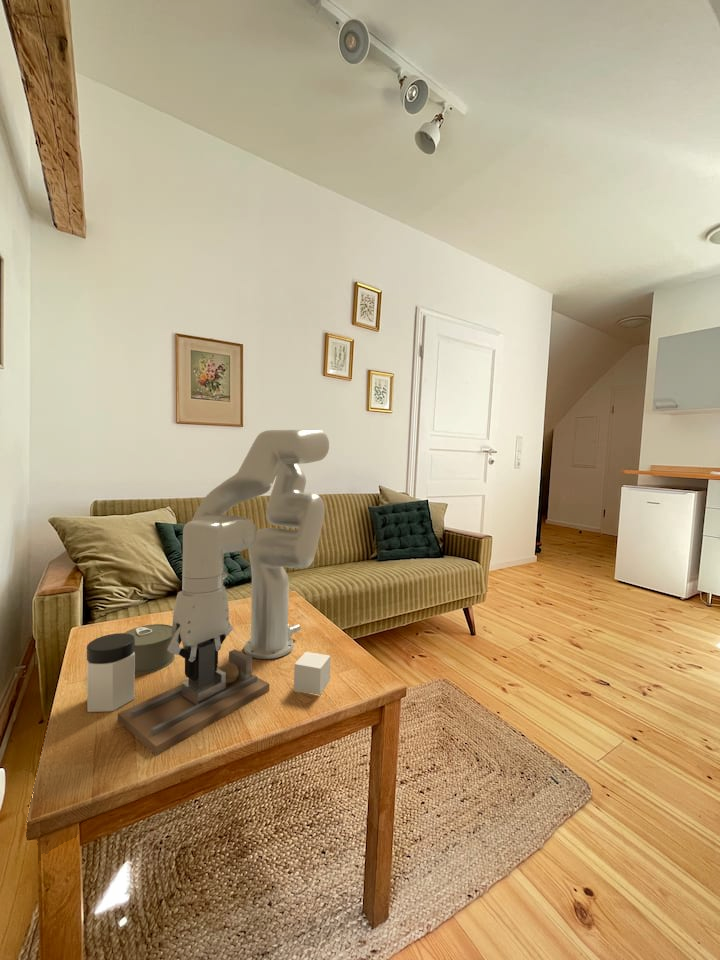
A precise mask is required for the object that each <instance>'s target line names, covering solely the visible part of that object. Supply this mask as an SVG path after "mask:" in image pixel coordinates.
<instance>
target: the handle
mask: <svg viewBox="0 0 720 960" xmlns="http://www.w3.org/2000/svg"><path fill="white" fill-rule="evenodd" d="M195 659H196V660H198V679H197V680H196V681H193V680H191V679H190V678H188V679H187V680H184V681H182V682H181V684H180V685H181V695H182V696H184V697H185V698H187V699H188V700H190V701H191V702H193V703H194V704H195V705H198V704H200V703H202V702H204V701H206V700H207V699H209V698H211V697H213V696H215V695H217V694H219V693H221V692H223V691H225V690H226V673H225V672H223V671H221V670H220V669H218V668H219V667H217V671H215V642H213V641H211V640H207V641H205V642H202V643H199V644H197V651H196V657H195Z"/></svg>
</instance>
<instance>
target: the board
mask: <svg viewBox="0 0 720 960" xmlns="http://www.w3.org/2000/svg"><path fill="white" fill-rule="evenodd" d="M217 668H218V669H220V670H221V671H223V672H225V673H226V690H225V691H223V692H221V693H219V694H217V695H215V696H213V697H211V698H209V699H207V700H206V701H204V702H202V703H200V704H198V705H195V704H194V703H193V702H191V701H190V700H188V699H187V698H185V697H184V696H182V695H181V684H180V685H177V686H175V687H173V688H171V689H167V691H164V692H162V693H159V694H158V695H155V696H153V697H150V698H148V699H146V700H144V701H141V702H140V703H137V704H135V705H133V706H131V707H128V708H126V709H124V710H122V711H119V712H117V722H118V723H119V724H121V726H122V727H123V728H125V729H126V730H127V732H129V734H131V735H132V736H134V738H136V739H137V740H138V741H139V742H140V743H141V744H143V745H144V746H145V748H146V749H148V750H149V751H150V752H151V753H153V754H154V756H157V755H159V754H160V753H162V752H164V751H166V750H167V749H168V750H169V748H171V747H173V746H175V745H176V744H178V743H180V742H183V740H186V739H187V738H189V737H190V736H192V735H195V734H196V733H197V732H200V731H201V730H204V728H206V727H208V726H210V725H211V724H213V723H215V722H217V721H218V720H221V719H222V718H223V717H225V716H227V715H229V714H231V713H232V712H235V711H236V710H237V709H240V708H242V707H243V706H245V705H247V704H248V703H250V702H251V701H254V700H255V699H257V698H258V697H261V696H262V695H264V694H266V693H267V692H269V691H270V683H269V682H268V681H265V680H263V679H261V678H260V677H258V676H257V675H253V673H252V672H253V669H252V668H253V657H251V656H249V655H247V654H246V653H245V652H244V653H243V652H241V651H239V650H237V649H232V650H230V651H229V652H228V662H227V663H225V664H223V665H222V666H219V667H217Z"/></svg>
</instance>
